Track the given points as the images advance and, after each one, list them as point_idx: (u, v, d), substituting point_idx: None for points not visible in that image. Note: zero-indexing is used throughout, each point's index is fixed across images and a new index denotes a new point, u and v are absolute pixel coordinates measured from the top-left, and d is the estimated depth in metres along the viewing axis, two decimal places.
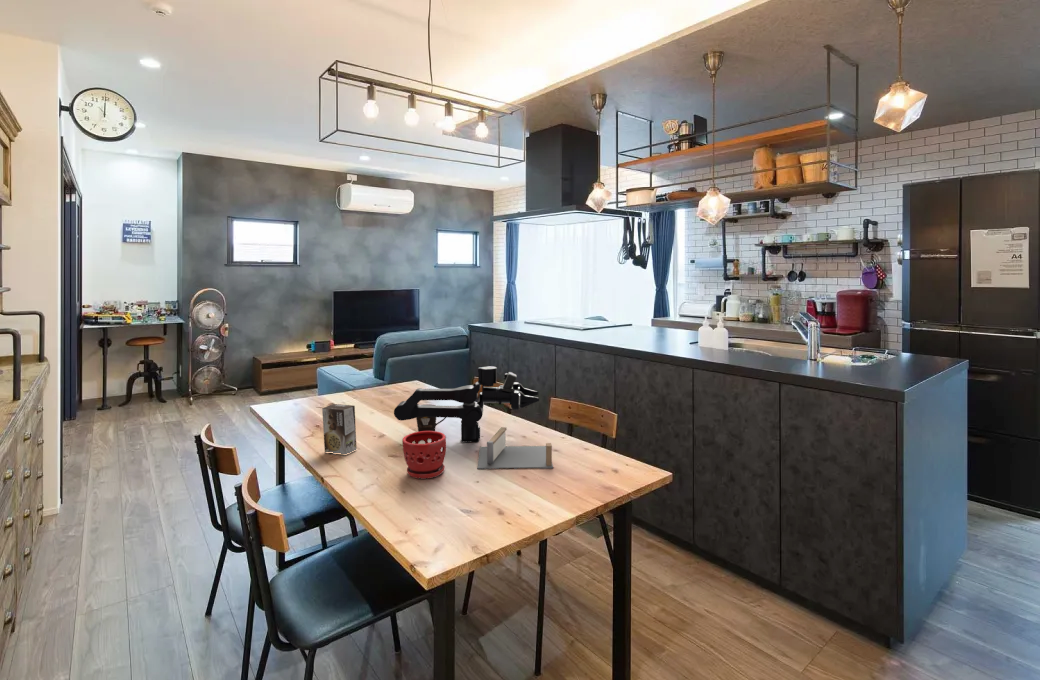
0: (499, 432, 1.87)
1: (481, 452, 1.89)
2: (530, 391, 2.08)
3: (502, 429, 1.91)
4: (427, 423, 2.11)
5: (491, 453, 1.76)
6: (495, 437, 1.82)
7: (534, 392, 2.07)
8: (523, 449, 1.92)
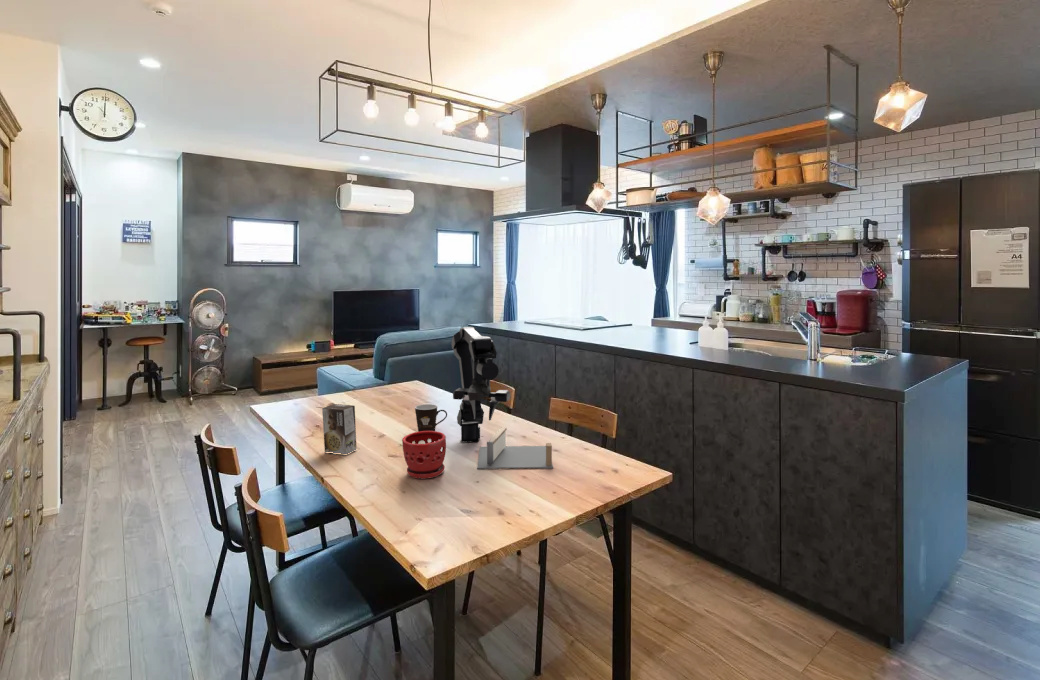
0: (499, 432, 1.87)
1: (481, 452, 1.89)
2: None
3: (502, 429, 1.91)
4: (427, 423, 2.11)
5: (491, 453, 1.76)
6: (495, 437, 1.82)
7: None
8: (523, 449, 1.92)
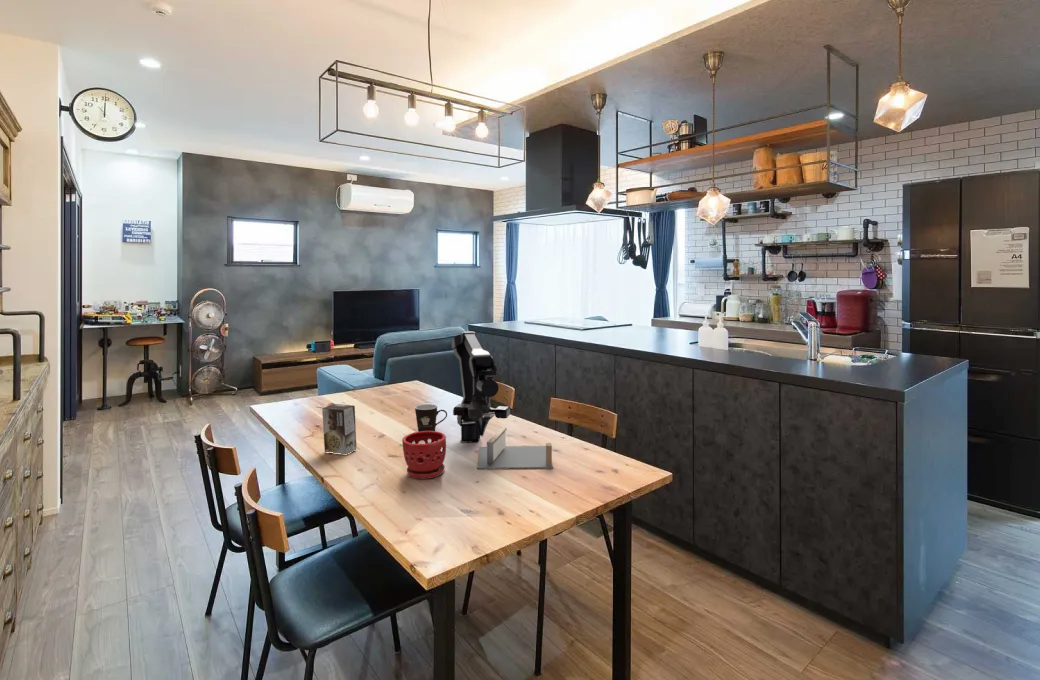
0: (499, 432, 1.87)
1: (481, 452, 1.89)
2: None
3: (502, 429, 1.91)
4: (427, 423, 2.11)
5: (491, 453, 1.76)
6: (495, 437, 1.82)
7: None
8: (523, 449, 1.92)
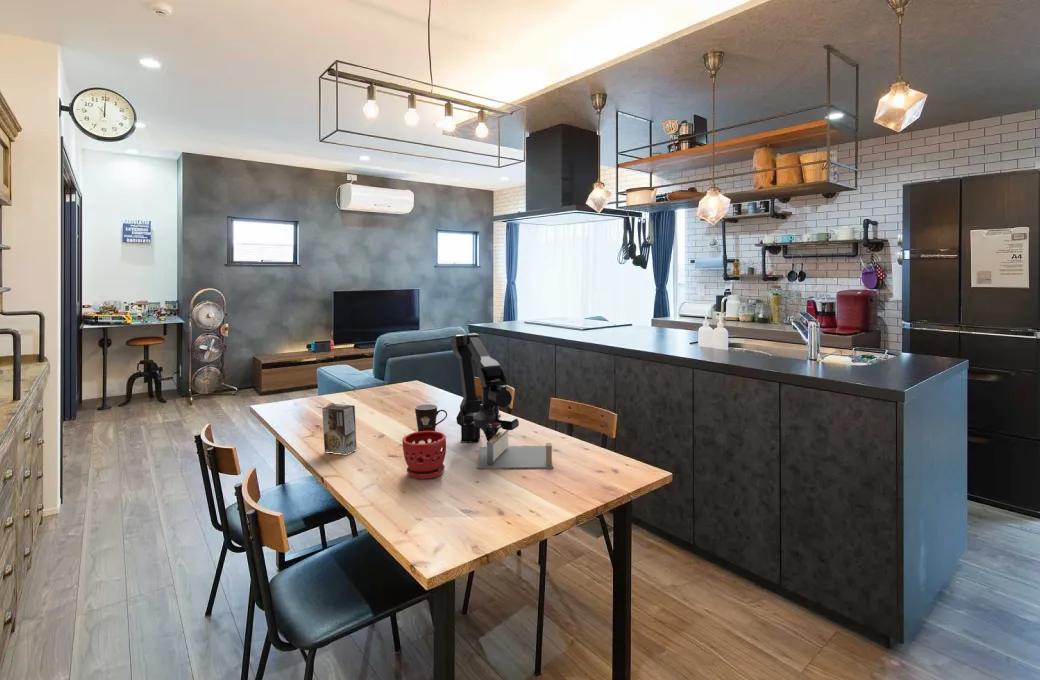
0: (501, 432, 1.87)
1: (481, 452, 1.89)
2: None
3: (504, 429, 1.91)
4: (427, 423, 2.11)
5: (491, 453, 1.76)
6: (496, 437, 1.82)
7: None
8: (523, 449, 1.92)
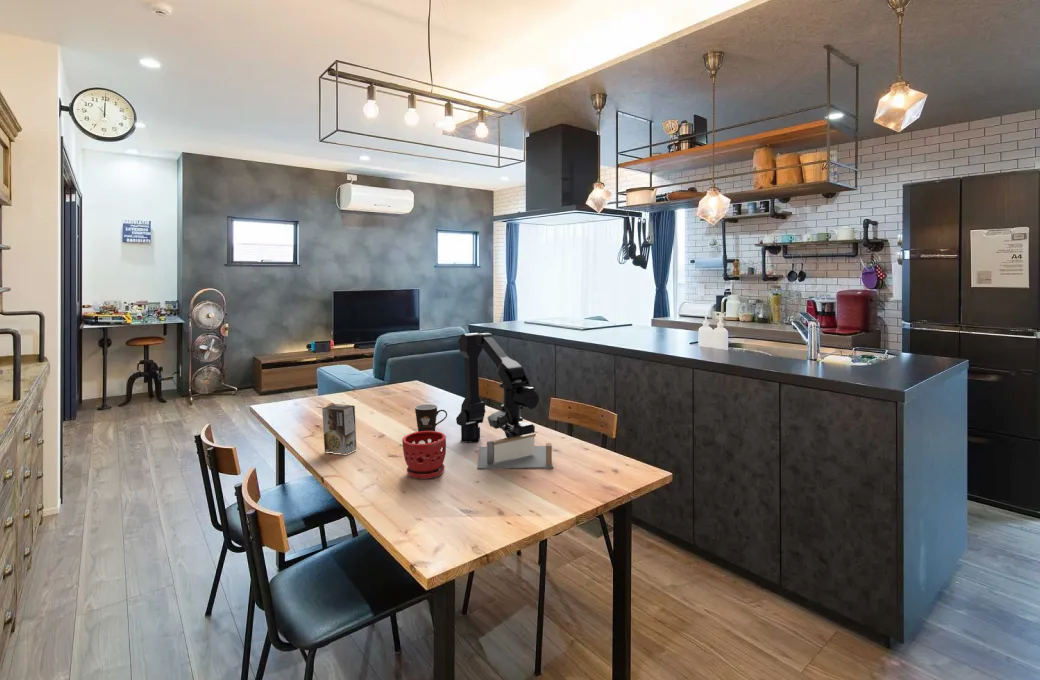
0: (518, 436, 1.83)
1: (481, 452, 1.89)
2: None
3: (527, 434, 1.85)
4: (427, 423, 2.11)
5: (489, 453, 1.76)
6: (504, 439, 1.79)
7: None
8: None
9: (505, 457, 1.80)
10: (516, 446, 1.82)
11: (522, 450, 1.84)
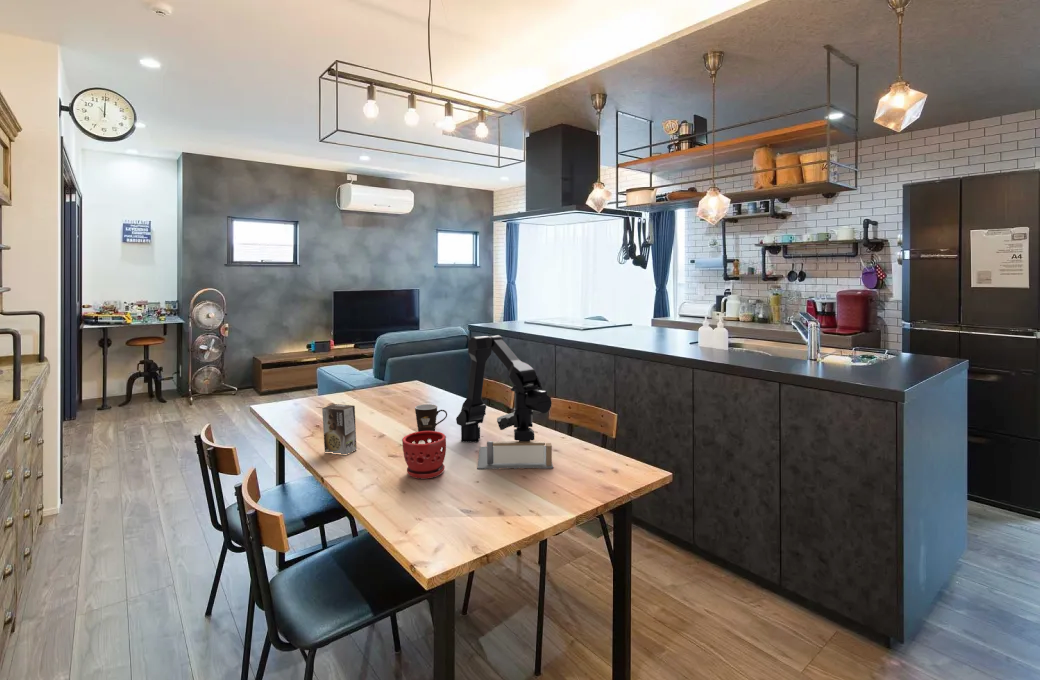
0: (525, 442, 1.77)
1: (481, 452, 1.89)
2: None
3: (536, 442, 1.77)
4: (427, 423, 2.11)
5: (487, 453, 1.76)
6: (507, 442, 1.76)
7: None
8: None
9: (507, 460, 1.77)
10: (520, 451, 1.77)
11: (528, 457, 1.77)
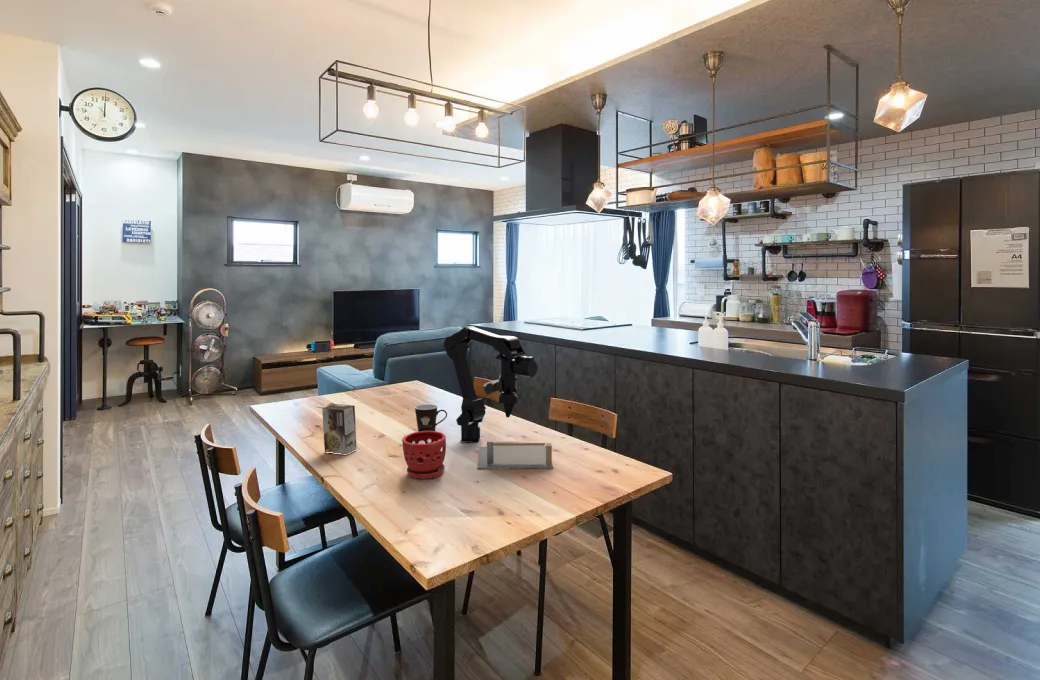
0: (525, 442, 1.77)
1: (481, 452, 1.89)
2: None
3: (536, 442, 1.77)
4: (427, 423, 2.11)
5: (487, 453, 1.76)
6: (507, 442, 1.76)
7: None
8: None
9: (507, 460, 1.77)
10: (520, 451, 1.77)
11: (528, 457, 1.77)
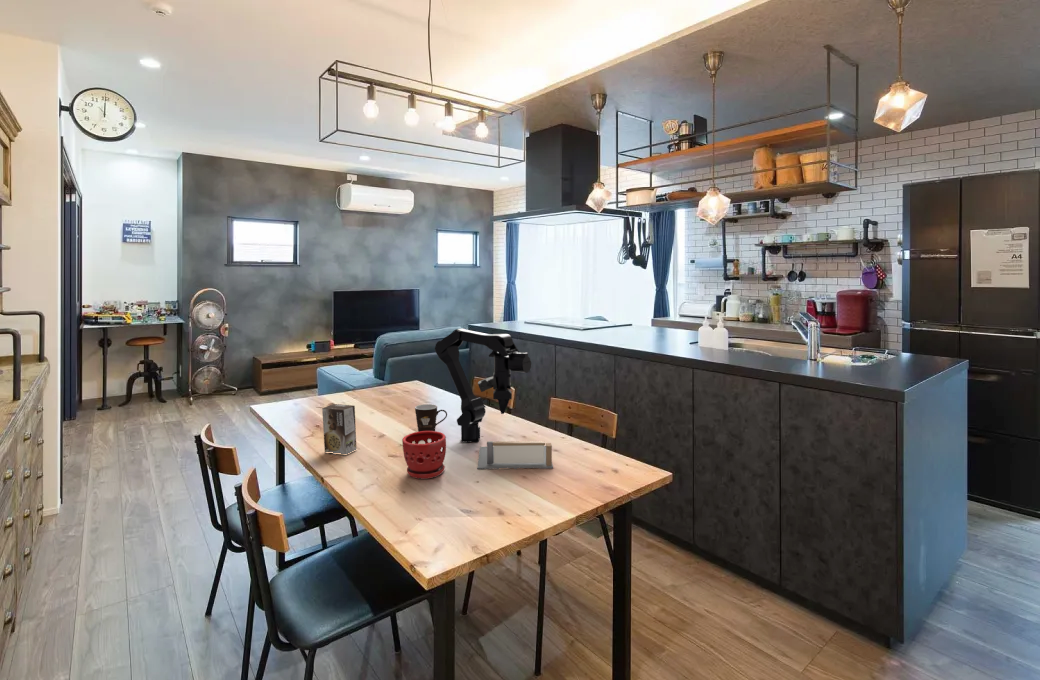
0: (525, 442, 1.77)
1: (481, 452, 1.89)
2: None
3: (536, 442, 1.77)
4: (427, 423, 2.11)
5: (487, 453, 1.76)
6: (507, 442, 1.76)
7: None
8: None
9: (507, 460, 1.77)
10: (520, 451, 1.77)
11: (528, 457, 1.77)
